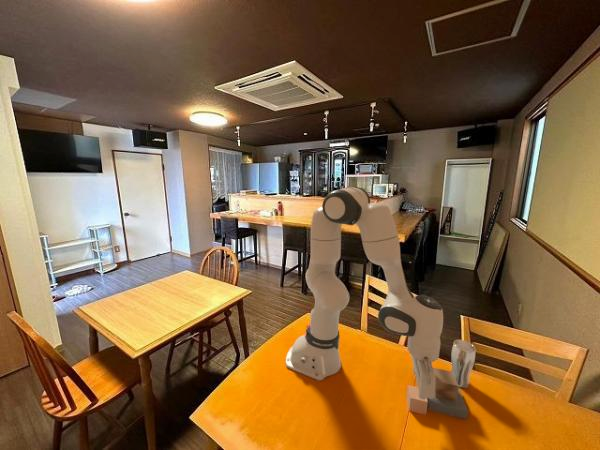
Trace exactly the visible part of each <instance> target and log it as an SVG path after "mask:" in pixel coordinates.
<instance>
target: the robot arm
mask: <svg viewBox="0 0 600 450" xmlns="http://www.w3.org/2000/svg"><path fill="white" fill-rule="evenodd" d="M343 225H347V226H354V225H356V226H357V227H358V229H359V232H360V238H361V241H362V242H361V243H362V247H363V250H364V253H365V255H366V258H367V259H368V261H370V262H371V263H372V264H374V265H376V266H380V267H381V268H382V270H383V274H384V277H385V280H386V284H387V288H388V290H387V295H386V298H385V300H384V301H383V303H382V305H381V307H380V309H379V311H378V314H377V319H378V323H380V325H381V327H382V328H383V329H384V330H385V331H386V332H389V333H391V334H394V335H398V336H404V337H407V347H406V348H407V351H408V353H409V354H410V356H411V360H412V365H413V370H412V372H413V374H414V375H415V379H416V382H417V383H416V384H417V387H418V389H419V392H418V394H419V398H420V399H424V400H425V399H426V398H431V399H432V398H434V395H435V373H434V369H433V368H434V366H433V364H432V363H433V362H436V361H438V360H439V356H440V349H441V334H442V332H443V327H444V311H443V306H442V305H441V303H439V302H438V301H437V300H435V298H433V297H430V296H428V295H424V294H423V295H422V294H418V295H415V296H414V294H413V293H412V291H411V289H410V288H409V287H408V284H407V281H406V277H405V272H404V270H403V269H404V268H403V264H402V259H401V245H400V239H399V234H398V228H397V225H396V222H395V219H394V217H393V214H392V212H391V209H390V208H389V206H388V205H387V204H384V203H382V202H373V203H372V202H371V197H370V194H369V193H368V192H367V191H366V190H365V189H363V188H361V187H357V186H349V187H348V186H347V187H343V188H340V189H336V190H332V191H331V192H329V193H328V194H327V195H326V196H325V197H324V199H323V202H322V206H320V207H318V208H316V209H315V210H314V211H313V213H312V217H311V223H310V256H309V257H310V258H309V264H308V268H307V270H306V272H305V282H306V285H307V287H308V288H309V291H310V292H311V293H312V295H313V297H314V300H315V301H314V307H313V308H312V309H311V311H310V321H309V322H308V323H307V325H306V330H305V332H304V334H303V335H301V336H299V337H297V338H296V340H295V341H294V343H293V345H292V346H291V347H290V348H289V350H288V352H287V354H286V357H285V366H286V368H288V369H290V370H293V371H295V372H298V373H300V374H303V375H304V376H307V377H309V378H312V379H314V380H317V381H323V380H324V379H325V378H326V377H329V376H333V375H335V374H337V373H338V372H339V371H340V370H341V367H342V360H341V356H340V350H339V346H340V339H341V337H340V331H339V323H340V314H341V312H342V311H343V310H344V309H345V308H346V307H347V306H348V304H349V302H350V293H349V291H348V289H347V287H346V285H345V284H344V282H342V280H341V279H340V278H339V277H338V276H337V275H336V271H335V270H336V269H335V268H336V265H337V263H338V262H339V260H340V259H341V252H342V251H341V249H342V226H343Z"/></svg>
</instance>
